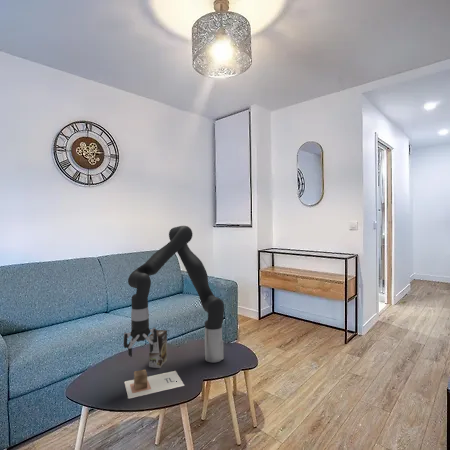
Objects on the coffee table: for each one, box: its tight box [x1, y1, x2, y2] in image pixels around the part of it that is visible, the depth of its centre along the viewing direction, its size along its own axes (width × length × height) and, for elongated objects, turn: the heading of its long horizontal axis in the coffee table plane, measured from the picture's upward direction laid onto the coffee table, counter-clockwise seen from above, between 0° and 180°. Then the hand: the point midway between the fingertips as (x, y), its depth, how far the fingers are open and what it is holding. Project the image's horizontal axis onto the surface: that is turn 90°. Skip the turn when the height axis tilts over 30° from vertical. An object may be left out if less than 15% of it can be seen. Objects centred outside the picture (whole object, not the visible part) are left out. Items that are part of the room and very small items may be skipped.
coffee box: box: [148, 329, 168, 369], centre depth 155 cm, size 9×6×16 cm
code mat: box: [124, 370, 185, 399], centre depth 135 cm, size 24×15×1 cm, turn 115°
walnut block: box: [133, 369, 148, 390], centre depth 133 cm, size 5×5×6 cm
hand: (140, 354), depth 133 cm, fingers open, 8 cm apart
